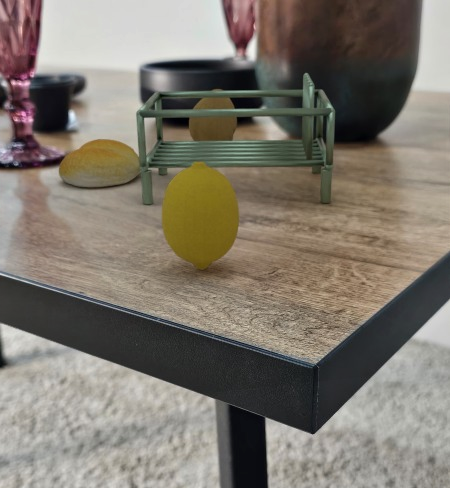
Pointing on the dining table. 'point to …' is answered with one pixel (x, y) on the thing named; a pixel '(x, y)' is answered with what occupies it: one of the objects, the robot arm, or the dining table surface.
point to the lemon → (200, 215)
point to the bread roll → (100, 164)
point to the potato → (213, 121)
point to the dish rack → (241, 151)
